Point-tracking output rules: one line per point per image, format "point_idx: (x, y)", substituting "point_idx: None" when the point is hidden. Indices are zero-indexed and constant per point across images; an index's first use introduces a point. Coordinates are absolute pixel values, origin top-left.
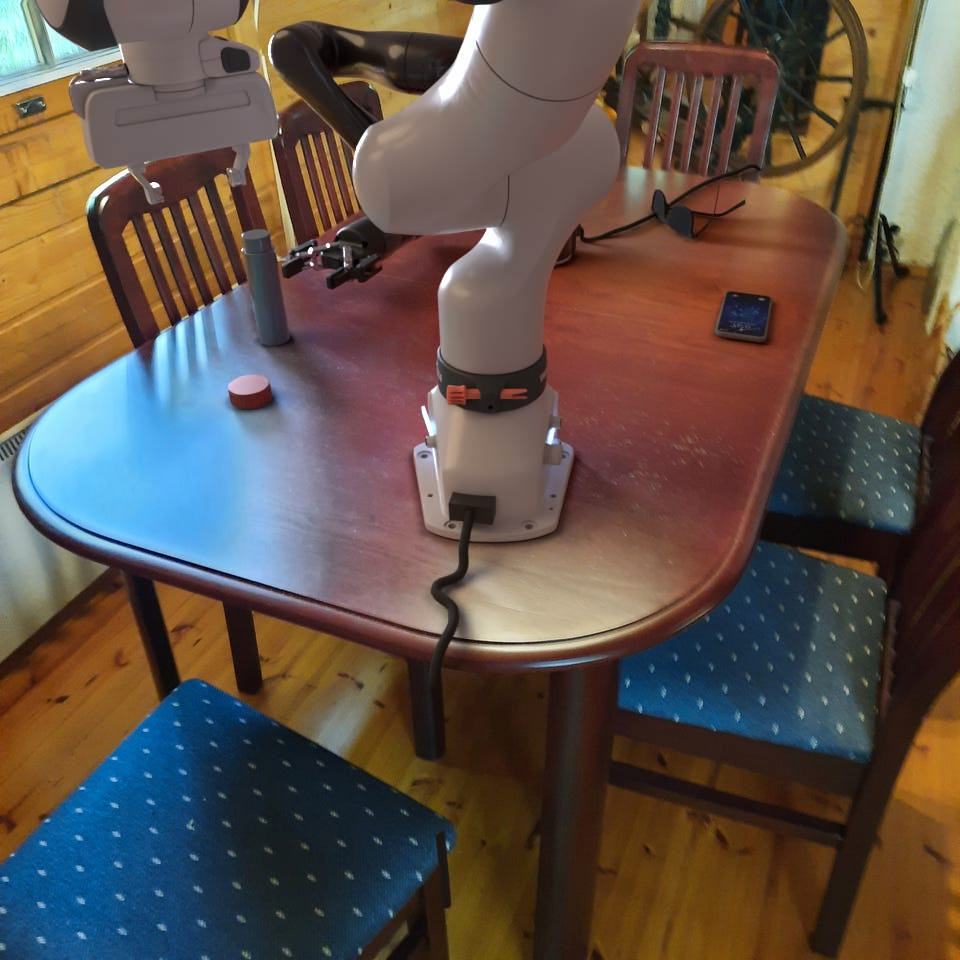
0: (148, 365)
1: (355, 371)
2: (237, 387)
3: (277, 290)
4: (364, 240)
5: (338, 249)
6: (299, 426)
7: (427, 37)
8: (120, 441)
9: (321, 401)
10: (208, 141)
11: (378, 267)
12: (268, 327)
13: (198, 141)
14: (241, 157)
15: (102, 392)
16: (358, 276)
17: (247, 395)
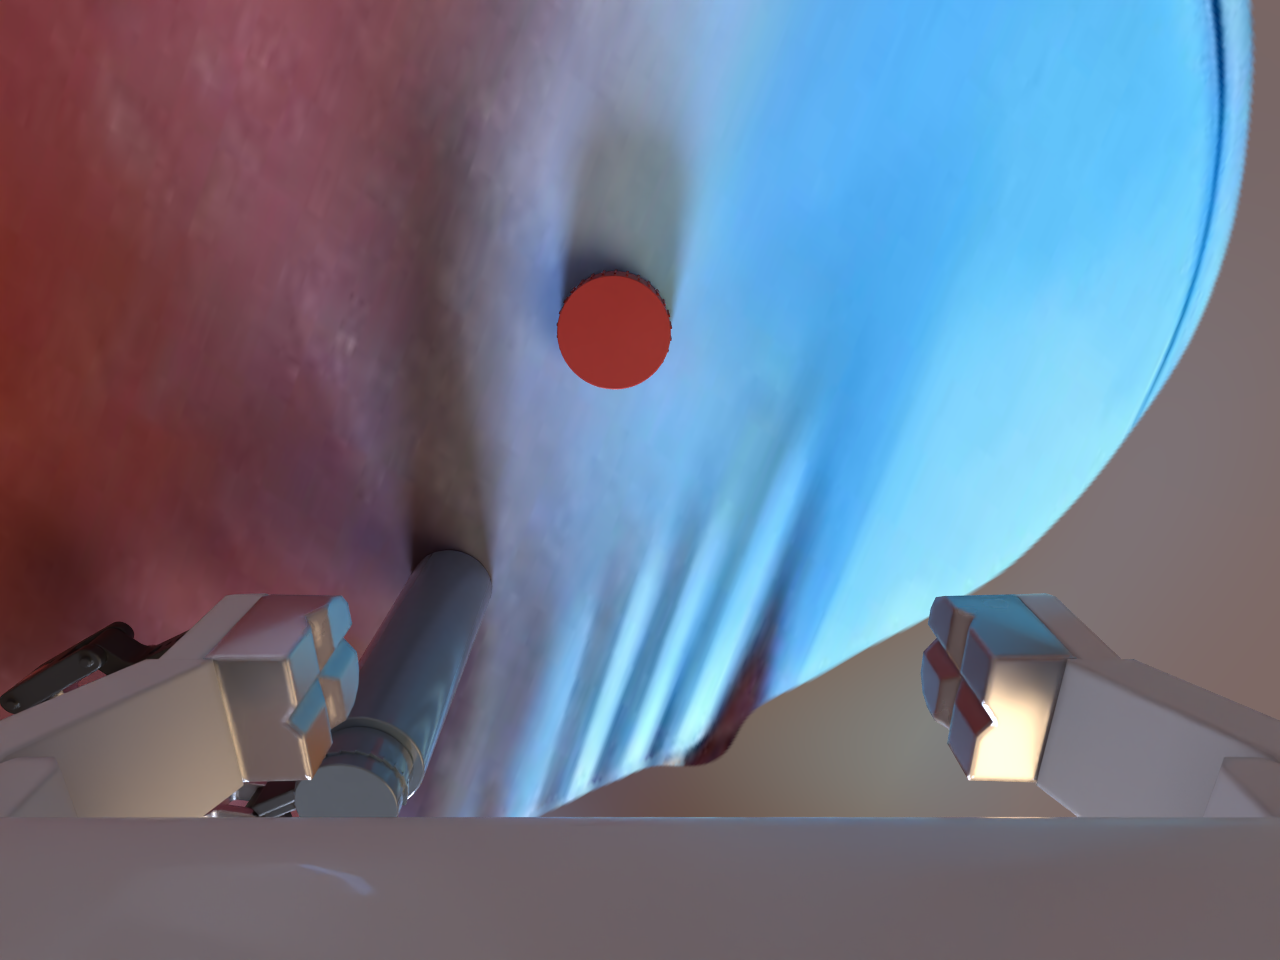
0: (765, 632)
1: (313, 296)
2: (646, 336)
3: (382, 635)
4: None
5: None
6: (558, 103)
7: None
8: (962, 328)
9: (456, 197)
10: (331, 917)
11: (43, 666)
12: (459, 581)
13: (509, 944)
14: (78, 763)
15: (901, 573)
16: (119, 639)
17: (638, 281)
